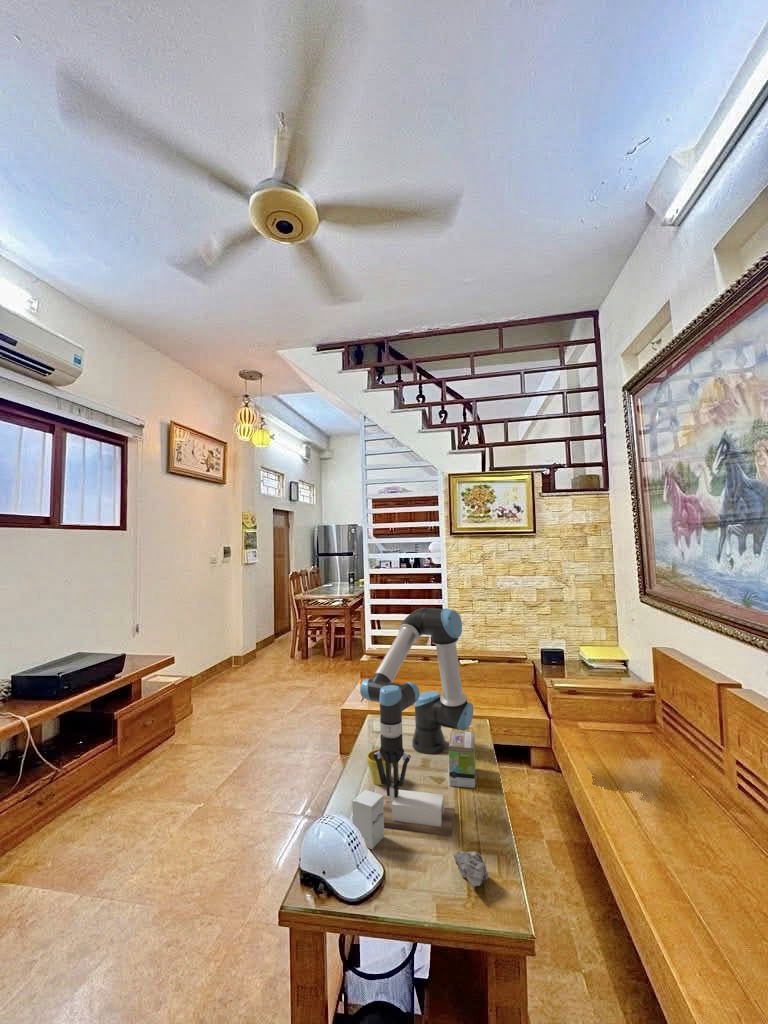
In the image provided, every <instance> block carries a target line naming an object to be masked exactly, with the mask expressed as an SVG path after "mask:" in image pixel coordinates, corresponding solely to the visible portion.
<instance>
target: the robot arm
mask: <svg viewBox="0 0 768 1024" xmlns="http://www.w3.org/2000/svg"><path fill="white" fill-rule="evenodd" d="M462 631H463V621H462V619H461V615H460V614H459V612H458V611H456V610H455V609H449V608H435V607H420V608H418V609H415V610H414V611H412V612H411V613H409V614H408V615H407V616H406V618H405V619H403V621H402V622H401V624H400V625H399V627H398V634H397V635H396V637H395V639H394V640H393V642H392V644H391V645H390V647H389V649H388V650H387V652H386V654H385V656H384V657H383V659H382V661H381V662H380V664H379V665H378V667H377V669H376V671H375V673H374V674H373V676H372V677H370V678H365V679H363V680H362V682H361V684H360V687H359V693H360V696H361V698H363V699H364V700H368V701H371V702H377V703H379V717H380V719H379V722H380V723H379V725H380V726H379V727H380V728H379V729H380V730H379V731H380V748H379V749H380V750H379V751H378V752H375V754H374V756H373V758H374V759H375V761H376V763H377V767H378V772H379V776H380V780H381V784H383V785H382V786H386V795H387V797H389V801H390V808H392V803H393V800H394V798H395V797H398V794H399V790H400V789H399V787H402V786H403V784H404V782H405V778H406V774H407V773H406V772H407V768H408V764H409V762H410V760H411V755H410V754H406V752H405V749H404V747H403V746H404V745H403V734H402V733H403V713H402V712H403V711H404V710H406V709H407V708H410V707H411V706H414V715H415V716H414V719H415V723H414V724H415V729H414V733H413V735H412V736H413V737H412V742H411V743H412V748H413V750H415V751H417V752H419V753H422V754H437V753H440V752H442V751H445V749H446V747H447V745H446V739H445V736H444V732H443V730H442V728H443V727H445V728H448V729H449V728H450V729H454V730H456V731H462V732H466V731H467V730H468V729H469V728H470V726H471V725H472V721H473V717H474V705H473V704H472V703H471V702H470V701H468V698H467V695H466V694H465V693H464V692H463V688H462V687H463V686H462V679H461V674H460V673H461V671H460V664H459V659H458V658H459V657H458V652H457V642H458V641H459V638H460V637H461V636H462ZM421 636H430V637H431V642H432V643H433V644H434V645H435V647H436V655H437V656H436V657H437V662H438V668H439V676H440V685H441V692H442V695H441V694H440V692H438V691H435V690H434V691H433V690H432V691H430V690H429V691H423V692H421V693H420V688H419V686H417V684H416V683H414V682H411V681H408V682H404V683H402V684H401V683H396V682H393V681H394V679H395V678H396V676H397V674H398V672H399V670H400V669H401V666H402V665H403V663H404V662H405V659H406V658H407V656H408V654H409V652H410V650H411V649H412V646H413V645H414V643H415V642H417V641H418V640H419V639H420V637H421ZM381 755H382V757H383V759H384V760H385V764H386V776H385V771H384V767H383V763H382V759H381ZM401 759H402V761H403V764H402V768H401V773H400V777H399V762H400V761H401ZM391 763H393V766H392V768H391ZM392 769H393V771H392ZM392 772H393V773H392ZM392 775H393V781H392ZM392 782H393V783H392Z"/></svg>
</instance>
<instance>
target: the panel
mask: <svg viewBox="0 0 768 1024" xmlns="http://www.w3.org/2000/svg"><path fill="white" fill-rule="evenodd" d="M444 807H445V795H444V794H440V793H431V792H425V791H424V792H423V791H415V790H405V789H399V794H398V797H395V798H394V800H393V803H392V820H394V821H401V822H409V823H416V824H424V825H431V826H439V827H441V824H442V814H444Z"/></svg>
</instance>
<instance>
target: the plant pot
mask: <svg viewBox="0 0 768 1024" xmlns="http://www.w3.org/2000/svg"><path fill="white" fill-rule="evenodd" d="M379 750H380V748H379V749H373V750H371V751H369V752H368V753H367V755H366V761H367V763H366V765H367V767H368V768H369V772H370V776H371V780H372V783H373V784H374V785H376V786H384V785H383V784H381V780H380V776H379V772H378V767H377V763H376V761H375V759H374V758H373V756H374V754H375V752H378V751H379ZM381 759H382V763H383V767H384V771H385V776H386V764H385V760H384V759H383V757H382V755H381ZM391 769H393V763H391Z"/></svg>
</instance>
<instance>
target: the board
mask: <svg viewBox="0 0 768 1024" xmlns="http://www.w3.org/2000/svg"><path fill="white" fill-rule="evenodd" d="M455 815H456V808H454V807H453V808H452V807H445V806H444V814H442V824H441V827H439V826H431V825H424V824H416V823H409V822H401V821H394V820H392V808H390V800H386V801H385V802H384V828H388V829H396V830H404V831H410V832H419V833H426V834H434V835H441V836H450V837H452V835H453V830H454V829H453V828H454V822H455Z"/></svg>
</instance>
